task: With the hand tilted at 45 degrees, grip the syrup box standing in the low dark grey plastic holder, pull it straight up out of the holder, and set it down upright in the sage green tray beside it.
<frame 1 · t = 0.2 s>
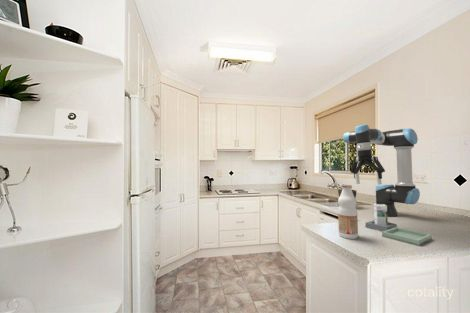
hand: (368, 184, 132), 27 cm above the countertop, tool pointing down, fingers open, 13 cm apart
fruit juice: (348, 236, 118), on the countertop
holder: (381, 228, 132), on the countertop
tray: (406, 238, 114), on the countertop
plant pot: (347, 208, 192), on the countertop
syrup box: (381, 228, 132), resting in holder
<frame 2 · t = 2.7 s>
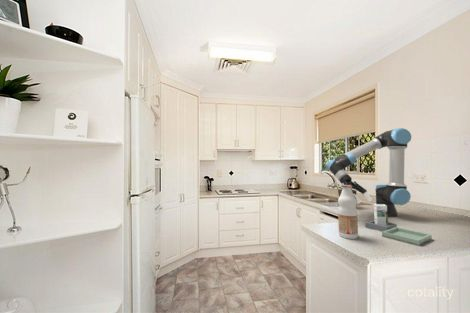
hand: (365, 202, 139), 15 cm above the countertop, tool tilted 45°, fingers open, 13 cm apart
nothing on the countertop moved.
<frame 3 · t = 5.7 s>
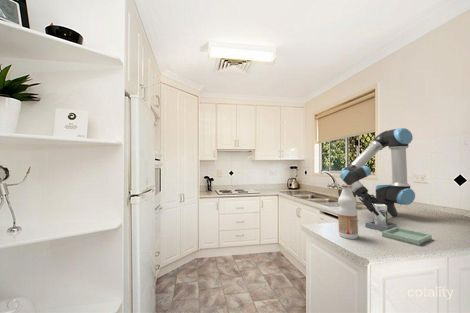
hand: (386, 218, 130), 6 cm above the countertop, tool tilted 45°, fingers closed on syrup box, 8 cm apart
syrup box: (381, 228, 132), resting in holder, touching gripper
everything else where it was.
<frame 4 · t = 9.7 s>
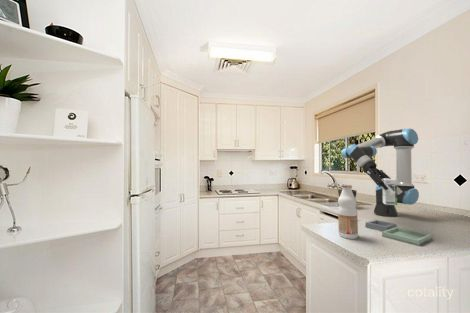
hand: (396, 193, 119), 23 cm above the countertop, tool tilted 45°, fingers closed on syrup box, 8 cm apart
syrup box: (389, 204, 122), point 16 cm above the countertop, touching gripper
everything else where it was.
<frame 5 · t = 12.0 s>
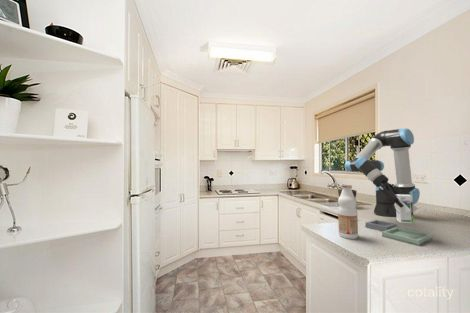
hand: (412, 211, 112), 15 cm above the countertop, tool tilted 45°, fingers closed on syrup box, 8 cm apart
syrup box: (404, 222, 114), point 8 cm above the countertop, touching gripper
everything else where it was.
when the fingers open (8 cm above the countertop, at t = 13.9 s): syrup box drops 1 cm, resting on tray.
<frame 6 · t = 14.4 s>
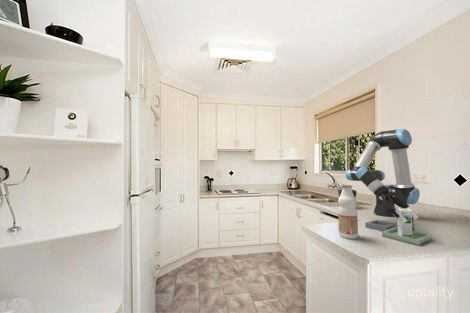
hand: (410, 220, 113), 10 cm above the countertop, tool tilted 45°, fingers open, 13 cm apart
syrup box: (405, 236, 115), point 1 cm above the countertop, touching tray
everything else where it was.
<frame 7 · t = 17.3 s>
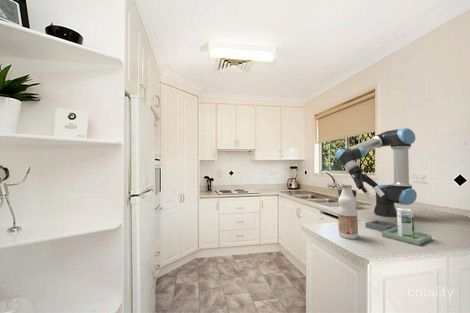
hand: (376, 196, 128), 20 cm above the countertop, tool tilted 40°, fingers open, 13 cm apart
nothing on the countertop moved.
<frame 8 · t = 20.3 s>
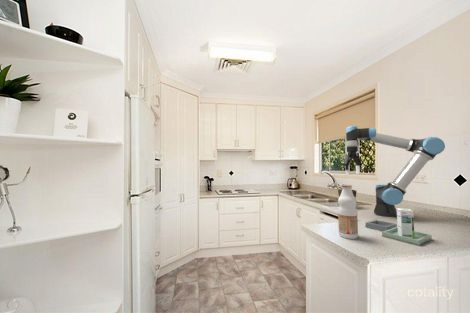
hand: (353, 174, 164), 32 cm above the countertop, tool pointing down, fingers open, 13 cm apart
nothing on the countertop moved.
at the end: syrup box inside the target area on the tray (0.1 cm from its centre), point 0.6 cm above the tray's base; syrup box tilted 0°; the gripper is holding nothing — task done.
